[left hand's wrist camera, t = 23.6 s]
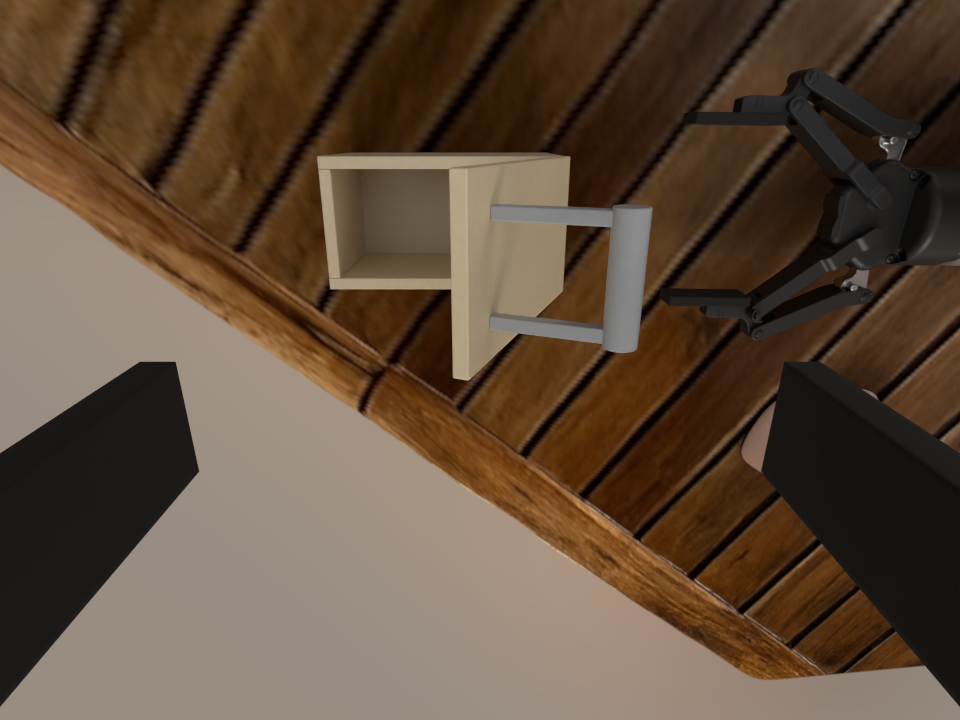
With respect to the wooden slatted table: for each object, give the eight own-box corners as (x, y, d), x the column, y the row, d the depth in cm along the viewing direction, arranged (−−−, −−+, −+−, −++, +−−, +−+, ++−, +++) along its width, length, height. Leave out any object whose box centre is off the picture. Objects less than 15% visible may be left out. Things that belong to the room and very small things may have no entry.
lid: (452, 378, 26) (624, 406, 23) (448, 167, 23) (648, 171, 20) (552, 290, 41) (663, 301, 38) (558, 156, 38) (680, 157, 35)
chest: (359, 260, 52) (330, 289, 41) (351, 152, 48) (316, 156, 38) (541, 259, 51) (556, 289, 41) (546, 152, 48) (563, 156, 38)
